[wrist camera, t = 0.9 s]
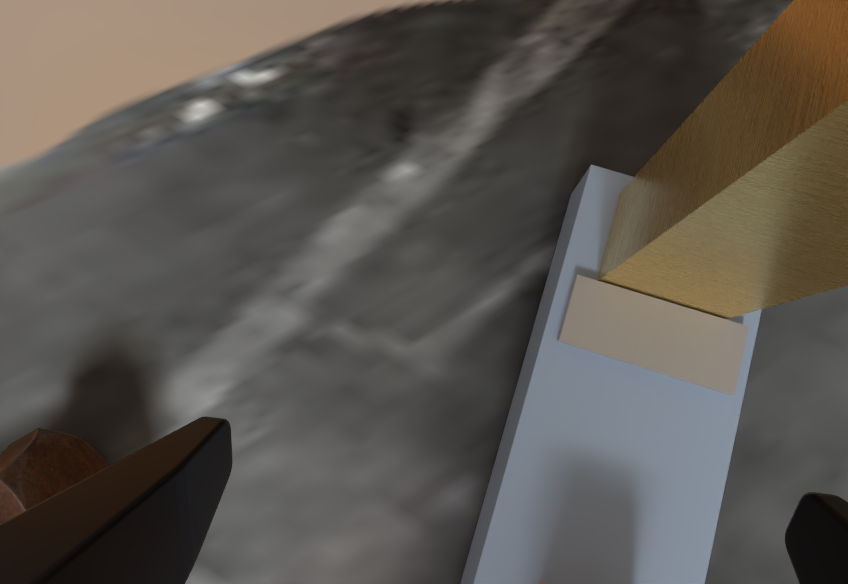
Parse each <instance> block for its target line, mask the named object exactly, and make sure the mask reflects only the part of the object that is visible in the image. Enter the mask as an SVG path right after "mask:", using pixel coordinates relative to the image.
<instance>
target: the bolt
mask: <svg viewBox="0 0 848 584" xmlns="http://www.w3.org/2000/svg"><path fill="white" fill-rule="evenodd" d="M109 466H110V465H109V463H108V462H107V461H106V460H105V458H104V457H103V456H102V455H101V454H100V453H98V452H97V451H96V450H95V449H94V448H93V447H92V446H91V445H90V444H89V443H88V442H87V441H85V440H83V439H82V438H80V437H77V436H75V435H72V434H68V433H64V432H60V431H55V430H48V429H40V428H37V429H36V430H34V431H32V432H31V433H29V434H27V435H25V436H24V437H22V438H20V439H19V440H17V441H15V442H13V443H12V444H10V445H9V446H8V447H7V448H6V450H5V451H4V452H3V453H2V454H1V455H0V524H2V523H4V522H5V521H7V520H9V519H11V518H13V517H15V516H17V515H19V514H20V513H22V512H24V511H26V510H28V509H30V508H32V507H34V506H36V505H37V504H39V503H41V502H43V501H45V500H47V499H49V498H51V497H52V496H54V495H56V494H58V493H60V492H62V491H64V490H66V489H67V488H69V487H71V486H73V485H75V484H77V483H79V482H81V481H82V480H84V479H86V478H88V477H90V476H92V475H94V474H96V473H97V472H99V471H101V470H103V469H105V468H107V467H109Z"/></svg>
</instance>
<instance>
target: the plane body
mask: <svg viewBox="0 0 848 584" xmlns="http://www.w3.org/2000/svg"><path fill="white" fill-rule="evenodd" d="M633 178H634V177H633V176H629V175H626V174H622V173H619V172H615V171H612V170H608V169H605V168H601V167H598V166H594V165H590V167H589V168H588V170H587V171H586V173H585V174H584V176H583V177H582V179H581V180H580V182H579V183H578V185H577V186H576V188H575V189H574V191H573V192H572V194H571V196H570V200H569V203H568V207H567V210H566V214H565V217H564V221H563V224H562V228H561V231H560V235H559V238H558V242H557V245H556V249H555V252H554V256H553V259H552V263H551V267H550V270H549V274H548V277H547V281H546V284H545V288H544V291H543V295H542V298H541V302H540V305H539V309H538V312H537V316H536V319H535V323H534V326H533V330H532V333H531V337H530V340H529V344H528V347H527V351H526V354H525V358H524V361H523V365H522V368H521V372H520V375H519V379H518V382H517V386H516V389H515V393H514V396H513V400H512V403H511V407H510V410H509V414H508V418H507V421H506V425H505V428H504V432H503V435H502V439H501V442H500V446H499V449H498V453H497V456H496V460H495V463H494V467H493V470H492V474H491V477H490V481H489V484H488V488H487V491H486V495H485V498H484V502H483V505H482V509H481V512H480V516H479V519H478V523H477V526H476V530H475V533H474V537H473V540H472V544H471V547H470V551H469V554H468V558H467V561H466V565H465V569H464V572H463V576H462V579H461V583H460V584H705V579H706V574H707V569H708V565H709V560H710V555H711V550H712V545H713V541H714V536H715V531H716V526H717V521H718V517H719V512H720V507H721V502H722V497H723V493H724V488H725V483H726V478H727V473H728V469H729V464H730V459H731V454H732V449H733V445H734V440H735V435H736V430H737V425H738V421H739V416H740V411H741V406H742V401H743V397H744V392H745V387H746V382H747V377H748V372H749V368H750V363H751V358H752V353H753V348H754V344H755V339H756V334H757V329H758V324H759V320H760V315H761V310H762V309H760V310H757V311H753V312H750V313H746V314H742V315H739V316H735V317H732V318H728V319H723V318H720V317H716V316H713V315H710V314H706V313H703V312H700V311H697V310H693V309H690V308H687V307H683V306H680V305H677V304H673V303H670V302H667V301H664V300H660V299H657V298H654V297H650V296H647V295H644V294H640V293H637V292H634V291H631V290H627V289H624V288H621V287H617V286H614V285H611V284H607V283H604V282H601V281H597V277H598V273H599V269H600V266H601V262H602V258H603V255H604V251H605V247H606V243H607V240H608V236H609V232H610V228H611V225H612V221H613V217H614V213H615V210H616V206H617V202H618V198H619V195H620V192H621V191H622V190H623V189H624V188H625V187H626V185H627V184H628V183H629V182H630V181H631V180H632V179H633Z"/></svg>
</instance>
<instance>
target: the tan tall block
mask: <svg viewBox="0 0 848 584" xmlns="http://www.w3.org/2000/svg"><path fill="white" fill-rule="evenodd" d="M597 281H601V282H604V283H607V284H611V285H614V286H617V287H621V288H624V289H627V290H631V291H634V292H637V293H640V294H644V295H647V296H650V297H654V298H657V299H660V300H664V301H667V302H670V303H673V304H677V305H680V306H683V307H687V308H690V309H693V310H697V311H700V312H703V313H706V314H710V315H713V316H716V317H720V318H723V319H728V318H732V317H735V316H739V315H742V314H746V313H750V312H753V311H757V310H760V309H764V308H768V307H771V306H775V305H778V304H782V303H786V302H789V301H793V300H797V299H800V298H804V297H807V296H811V295H815V294H818V293H822V292H825V291H829V290H833V289H836V288H840V287H843V286H847V285H848V0H794V1H793V2H792V3H791V4H790V5H789V6H788V7H787V8H786V10H785V11H784V12H783V13H782V14H781V15H780V16H779V17H778V18H777V20H776V21H775V22H774V23H773V24H772V25H771V26H770V27H769V28H768V29H767V31H766V32H765V33H764V34H763V35H762V36H761V37H760V38H759V39H758V41H757V42H756V43H755V44H754V45H753V46H752V47H751V48H750V49H749V50H748V52H747V53H746V54H745V55H744V56H743V57H742V58H741V59H740V60H739V62H738V63H737V64H736V65H735V66H734V67H733V68H732V69H731V70H730V72H729V73H728V74H727V75H726V76H725V77H724V78H723V79H722V80H721V81H720V83H719V84H718V85H717V86H716V87H715V88H714V89H713V90H712V91H711V93H710V94H709V95H708V96H707V97H706V98H705V99H704V100H703V101H702V102H701V104H700V105H699V106H698V107H697V108H696V109H695V110H694V111H693V112H692V114H691V115H690V116H689V117H688V118H687V119H686V120H685V121H684V122H683V123H682V125H681V126H680V127H679V128H678V129H677V130H676V131H675V132H674V133H673V135H672V136H671V137H670V138H669V139H668V140H667V141H666V142H665V143H664V145H663V146H662V147H661V148H660V149H659V150H658V151H657V152H656V153H655V154H654V156H653V157H652V158H651V159H650V160H649V161H648V162H647V163H646V164H645V166H644V167H643V168H642V169H641V170H640V171H639V172H638V173H637V174H636V175H635V177H634V178H633V179H632V180H631V181H630V182H629V183H628V184H627V185H626V187H625V188H624V189H623V190H622V191H621V192H620V195H619V198H618V202H617V206H616V210H615V213H614V217H613V221H612V225H611V228H610V232H609V236H608V240H607V243H606V247H605V251H604V255H603V258H602V262H601V266H600V269H599V273H598V277H597Z"/></svg>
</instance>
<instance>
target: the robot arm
mask: <svg viewBox="0 0 848 584" xmlns="http://www.w3.org/2000/svg"><path fill="white" fill-rule="evenodd" d="M231 468H232V444H231V427H230V424H229V422H228V421H227V420H226V419H221V418H213V417H201V418H199V419H197V420H195V421H193V422H191V423H189V424H187V425H186V426H184V427H182V428H180V429H178V430H176V431H174V432H172V433H171V434H169V435H167V436H165V437H163V438H161V439H159V440H157V441H156V442H154V443H152V444H150V445H148V446H146V447H144V448H142V449H141V450H139V451H137V452H135V453H133V454H131V455H129V456H127V457H126V458H124V459H122V460H120V461H118V462H116V463H114V464H112V465H111V466H109V467H107V468H105V469H103V470H101V471H99V472H97V473H96V474H94V475H92V476H90V477H88V478H86V479H84V480H82V481H81V482H79V483H77V484H75V485H73V486H71V487H69V488H67V489H66V490H64V491H62V492H60V493H58V494H56V495H54V496H52V497H51V498H49V499H47V500H45V501H43V502H41V503H39V504H37V505H36V506H34V507H32V508H30V509H28V510H26V511H24V512H22V513H20V514H19V515H17V516H15V517H13V518H11V519H9V520H7V521H5V522H4V523H2V524H0V584H185V582H186V580H187V578H188V576H189V574H190V572H191V570H192V568H193V566H194V564H195V562H196V559H197V557H198V554H199V552H200V550H201V547H202V545H203V542H204V540H205V537H206V535H207V532H208V529H209V527H210V524H211V522H212V519H213V517H214V514H215V512H216V509H217V507H218V504H219V502H220V499H221V497H222V494H223V491H224V489H225V486H226V484H227V481H228V479H229V476H230V473H231ZM785 544H786V548H787V551H788V554H789V557H790V559H791V562H792V565H793V567H794V570H795V573H796V575H797V578H798V581H799V583H800V584H848V502H847V501H845V500H843V499H842V498H840V497H838V496H835V495H831V494H823V493H815V492H809V493H806V494H804V495H803V496H802V497H801V499H800V501H799V503H798V505H797V508H796V510H795V512H794V514H793V516H792V518H791V521H790V523H789V525H788V527H787V529H786V533H785Z"/></svg>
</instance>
